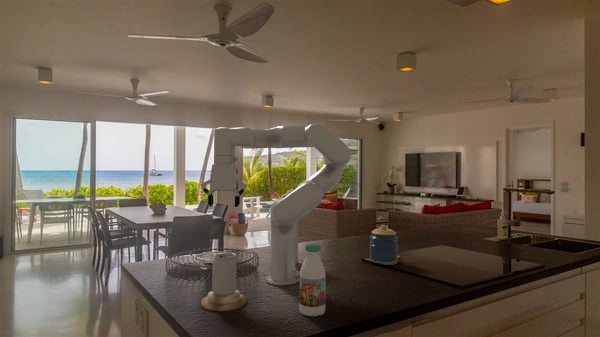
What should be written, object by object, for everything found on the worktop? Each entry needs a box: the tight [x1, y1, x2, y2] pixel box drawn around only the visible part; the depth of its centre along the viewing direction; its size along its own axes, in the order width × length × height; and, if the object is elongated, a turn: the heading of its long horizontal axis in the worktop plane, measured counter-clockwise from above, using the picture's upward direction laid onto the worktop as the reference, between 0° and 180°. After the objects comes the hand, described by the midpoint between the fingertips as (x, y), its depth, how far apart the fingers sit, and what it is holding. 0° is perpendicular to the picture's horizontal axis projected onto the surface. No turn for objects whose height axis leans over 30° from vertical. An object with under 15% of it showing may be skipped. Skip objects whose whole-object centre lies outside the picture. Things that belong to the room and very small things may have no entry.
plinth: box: [200, 289, 247, 312], centre depth 117 cm, size 14×14×3 cm
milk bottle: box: [298, 243, 326, 317], centre depth 110 cm, size 8×8×20 cm
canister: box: [369, 224, 399, 262], centre depth 170 cm, size 13×13×18 cm
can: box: [211, 253, 237, 296], centre depth 117 cm, size 8×8×12 cm
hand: (223, 206), depth 138 cm, fingers open, 9 cm apart
